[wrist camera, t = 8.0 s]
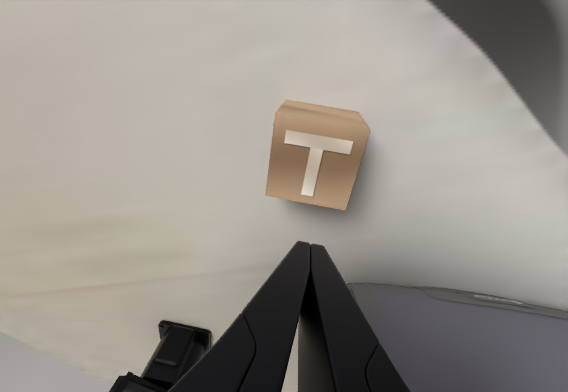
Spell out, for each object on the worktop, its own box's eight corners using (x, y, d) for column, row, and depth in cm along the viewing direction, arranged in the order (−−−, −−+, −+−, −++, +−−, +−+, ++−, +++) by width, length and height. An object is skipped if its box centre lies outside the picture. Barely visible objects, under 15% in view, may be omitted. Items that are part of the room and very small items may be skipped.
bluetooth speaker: (333, 314, 28) (338, 433, 19) (351, 248, 23) (370, 365, 14) (556, 351, 26) (674, 500, 17) (623, 288, 21) (830, 448, 13)
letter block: (339, 176, 20) (345, 211, 15) (277, 165, 20) (264, 196, 16) (357, 111, 17) (371, 130, 13) (286, 99, 18) (274, 113, 13)
